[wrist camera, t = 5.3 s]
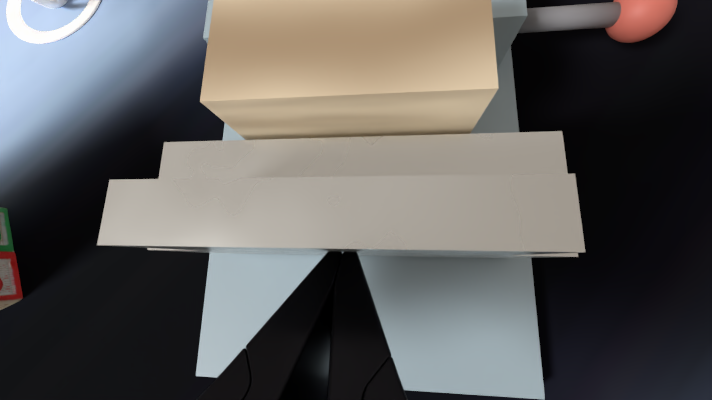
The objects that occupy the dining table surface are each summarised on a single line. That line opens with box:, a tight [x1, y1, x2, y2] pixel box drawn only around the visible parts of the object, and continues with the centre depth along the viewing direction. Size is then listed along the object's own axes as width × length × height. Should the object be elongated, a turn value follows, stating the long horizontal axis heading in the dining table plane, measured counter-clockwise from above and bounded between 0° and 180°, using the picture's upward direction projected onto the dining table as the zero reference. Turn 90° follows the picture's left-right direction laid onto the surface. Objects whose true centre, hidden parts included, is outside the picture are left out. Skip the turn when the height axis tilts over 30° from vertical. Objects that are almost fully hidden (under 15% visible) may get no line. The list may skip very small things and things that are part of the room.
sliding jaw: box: [97, 131, 585, 258], centre depth 11 cm, size 4×14×9 cm, turn 89°
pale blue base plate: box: [196, 0, 677, 399], centre depth 14 cm, size 19×22×5 cm
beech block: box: [200, 0, 499, 140], centre depth 13 cm, size 4×9×7 cm, turn 89°
